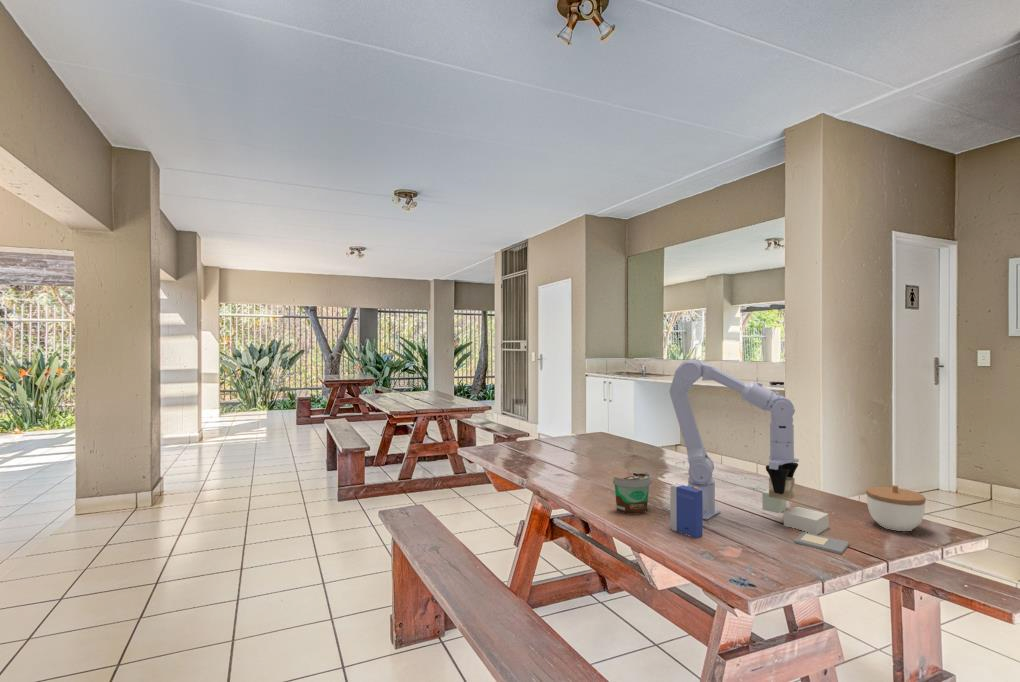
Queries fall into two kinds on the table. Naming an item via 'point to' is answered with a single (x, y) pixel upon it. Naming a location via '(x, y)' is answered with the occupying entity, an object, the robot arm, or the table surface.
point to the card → (822, 542)
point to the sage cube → (773, 503)
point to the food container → (632, 493)
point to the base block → (806, 520)
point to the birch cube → (788, 491)
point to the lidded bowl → (895, 507)
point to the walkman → (686, 510)
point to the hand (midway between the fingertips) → (782, 491)
